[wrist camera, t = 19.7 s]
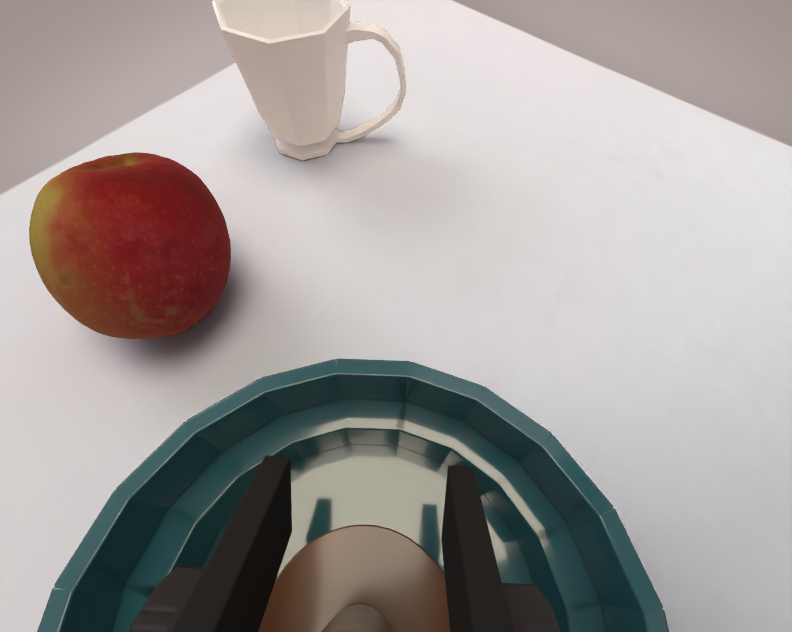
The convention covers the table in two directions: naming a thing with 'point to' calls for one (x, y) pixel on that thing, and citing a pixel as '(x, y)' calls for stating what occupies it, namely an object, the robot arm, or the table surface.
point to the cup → (301, 67)
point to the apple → (131, 245)
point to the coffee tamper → (359, 586)
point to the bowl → (362, 493)
